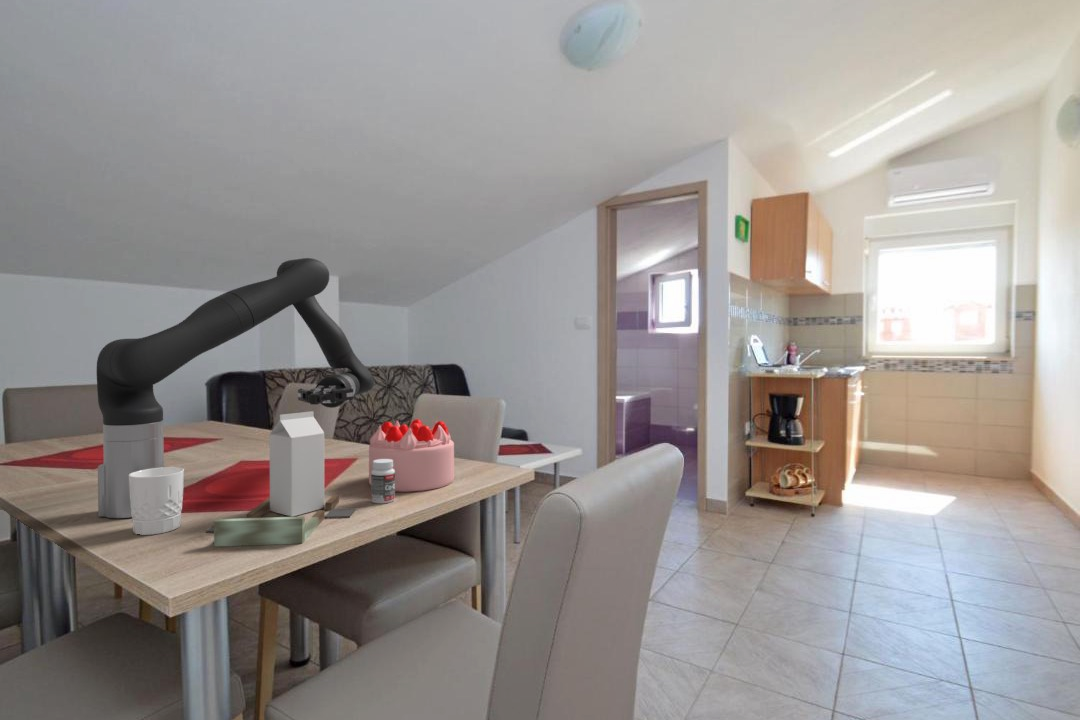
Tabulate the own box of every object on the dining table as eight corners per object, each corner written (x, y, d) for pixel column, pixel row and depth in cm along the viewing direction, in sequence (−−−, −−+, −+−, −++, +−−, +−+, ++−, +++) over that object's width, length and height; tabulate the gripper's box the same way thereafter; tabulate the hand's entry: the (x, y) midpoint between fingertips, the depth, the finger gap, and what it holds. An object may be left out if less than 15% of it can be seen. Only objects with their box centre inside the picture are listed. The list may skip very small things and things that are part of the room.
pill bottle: (388, 504, 110) (388, 463, 109) (366, 503, 111) (366, 462, 110) (399, 498, 114) (398, 458, 114) (378, 497, 115) (378, 457, 115)
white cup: (152, 521, 98) (151, 466, 98) (194, 522, 98) (194, 467, 98) (117, 536, 90) (116, 476, 90) (163, 537, 90) (162, 477, 90)
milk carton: (324, 508, 107) (324, 412, 106) (291, 517, 101) (291, 416, 100) (302, 502, 110) (302, 410, 110) (269, 511, 105) (269, 413, 104)
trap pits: (204, 535, 91) (204, 533, 91) (209, 524, 97) (209, 522, 97) (358, 516, 102) (358, 514, 102) (354, 507, 107) (354, 506, 107)
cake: (392, 498, 115) (391, 431, 115) (354, 480, 130) (354, 421, 130) (469, 483, 128) (469, 423, 127) (427, 469, 143) (427, 415, 142)
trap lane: (214, 546, 86) (214, 521, 86) (270, 504, 109) (269, 484, 109) (302, 543, 88) (302, 518, 87) (338, 502, 111) (338, 483, 111)
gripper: (308, 374, 132) (280, 382, 115) (363, 374, 133) (345, 382, 116) (308, 405, 132) (281, 417, 115) (364, 404, 134) (345, 416, 116)
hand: (313, 399), depth 116 cm, fingers closed
